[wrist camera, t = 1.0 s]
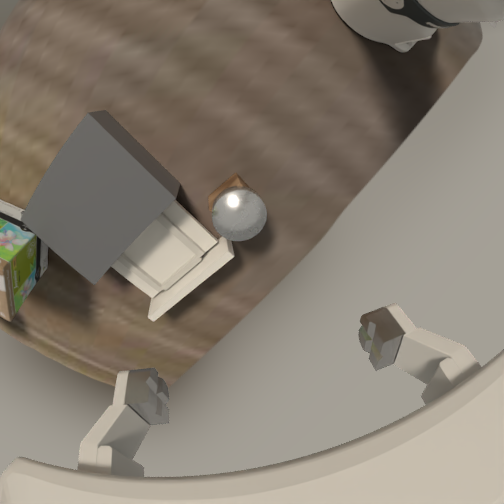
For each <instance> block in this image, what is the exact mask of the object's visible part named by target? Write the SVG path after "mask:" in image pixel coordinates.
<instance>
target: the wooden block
mask: <svg viewBox="0 0 504 504" xmlns="http://www.w3.org/2000/svg"><path fill="white" fill-rule="evenodd" d="M232 186H246V187H249V186H248V185H247V184H246V183H245V182H244V181H243V180H242V179H241V178H240V176H239V175H238V174H237V173H235V174H234V175H232V176H231V177H230V178H229V179H228V180H227V181H225V182H224V183H223V184H222V185H221V186H220V187H218V188H217V189H216V190H215V191H214V192H213V193H212V194H210V195H209V196H208V199H209V210H210V211H211V212H212V205H213V202H214V200H215V198H216V197H217V196H218V194H219V193H220V192H222V191H223V190H225V189H226V188H229V187H232ZM249 188H250V187H249Z"/></svg>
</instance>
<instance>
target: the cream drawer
mask: <svg viewBox="0 0 504 504" xmlns="http://www.w3.org/2000/svg"><path fill="white" fill-rule="evenodd" d="M233 257H234V252H233V247H232V241H231V240H228V239H226V238H224V237H221V238H220V239H218V240H217V238H215V237H214V236H213V235H212V234H211V233H210V232H209V231H208V230H207V229H206V228H205V227H204V226H203V225H202V224H201V223H200V222H198V221H197V220H196V219H195V218H194V217H193V216H192V215H191V214H190V213H189V212H188V211H187V210H186V209H185V208H184V207H183V206H182V205H181V204H179V203H178V202H177V201H176V200H174V201H173V202H172V203H171V204H170V205H169V206H168V207H167V208H166V209H165V210H164V211H163V212H162V213H161V214H160V215H159V216H158V217H157V218H156V219H155V220H154V221H153V222H152V223H151V224H150V225H149V226H148V227H147V228H146V229H145V230H144V231H143V232H142V233H141V234H140V235H139V236H138V237H137V238H136V239H135V240H134V242H133V243H132V244H131V245H130V246H129V247H128V248H127V249H126V250H125V251H124V252H123V253H122V254H121V256H120V257H119V258H118V259H117V260H116V261H115V262H114V263H113V264H112V266H111V267H112V268H114V269H115V270H116V271H117V272H119V273H120V274H121V275H122V276H124V277H125V278H126V279H127V280H129V281H130V282H131V283H133V284H134V285H135V286H137V287H138V288H139V289H141V290H142V291H143V292H145V293H146V294H147V295H149V296H150V297H151V303H150V308H149V313H148V318H149V319H151V320H152V321H153V322H154V321H155V320H156V319H158V318H159V317H160V316H161V315H163V314H164V313H165V312H166V311H167V310H169V309H170V308H171V307H172V306H174V305H175V304H176V303H177V302H179V301H180V300H181V299H182V298H184V297H185V296H186V295H187V294H188V293H190V292H191V291H192V290H193V289H195V288H196V287H197V286H198V285H200V284H201V283H202V282H203V281H205V280H206V279H207V278H208V277H210V276H211V275H212V274H213V273H215V272H216V271H217V270H218V269H220V268H221V267H222V266H223V265H225V264H226V263H227V262H228V261H230V260H231V259H232V258H233Z"/></svg>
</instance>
